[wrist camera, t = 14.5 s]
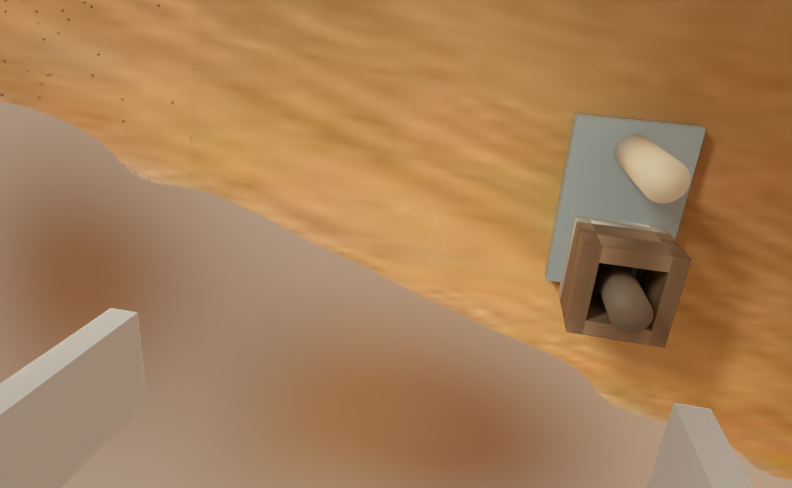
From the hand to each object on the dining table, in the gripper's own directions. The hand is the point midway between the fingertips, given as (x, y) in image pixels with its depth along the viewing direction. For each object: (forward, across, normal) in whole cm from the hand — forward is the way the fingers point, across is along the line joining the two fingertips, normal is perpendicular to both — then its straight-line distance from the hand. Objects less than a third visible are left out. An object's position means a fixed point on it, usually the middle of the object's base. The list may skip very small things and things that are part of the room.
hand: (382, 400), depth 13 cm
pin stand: (+29, +11, -2) cm, 31 cm away
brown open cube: (+28, +11, -6) cm, 30 cm away
